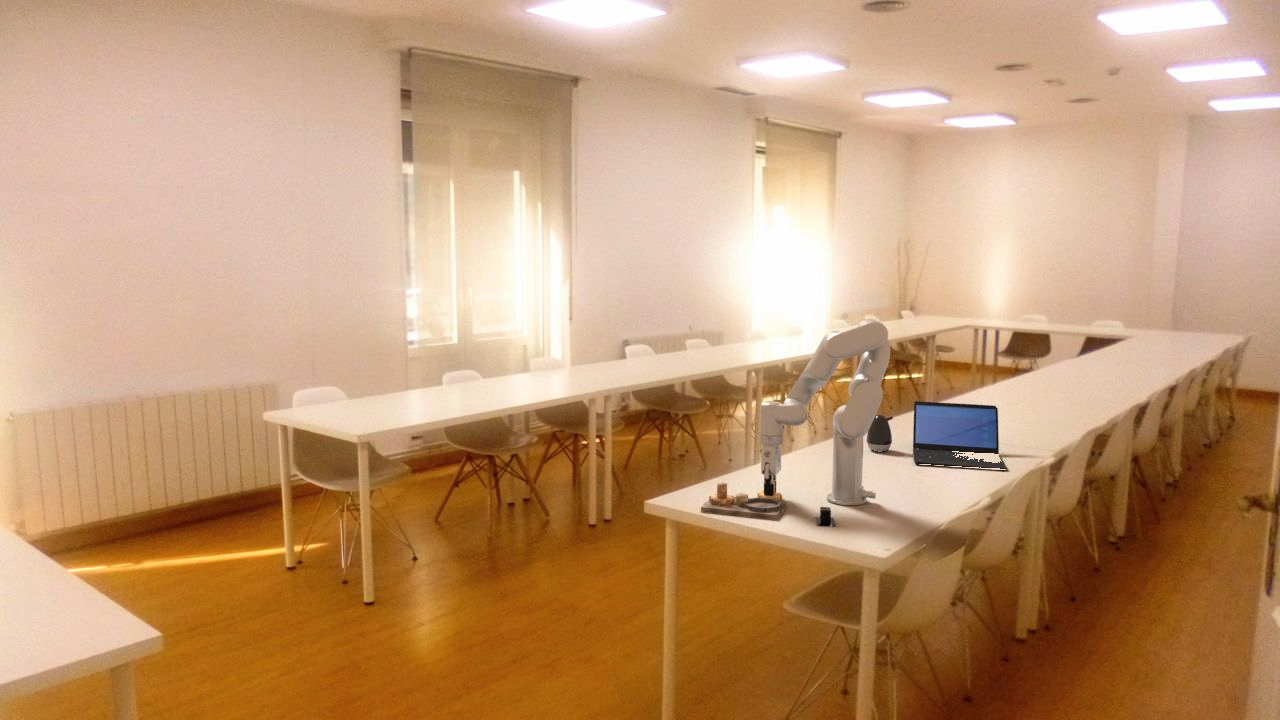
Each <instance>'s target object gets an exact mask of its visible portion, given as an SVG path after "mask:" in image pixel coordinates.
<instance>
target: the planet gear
mask: <svg viewBox="0 0 1280 720" xmlns="http://www.w3.org/2000/svg"><path fill="white" fill-rule="evenodd" d="M773 484H774V495H773V496H766V495H764V490H762V491H761V492H757V497H758V498H760V497H761V498H771V499H775V500H777V501H780V502H781V501H782V500H783V494H782V493H781V492H780V491H779V492H778V491H776V493H775V480H773Z"/></svg>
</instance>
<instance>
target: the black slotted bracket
mask: <svg viewBox="0 0 1280 720" xmlns="http://www.w3.org/2000/svg"><path fill="white" fill-rule="evenodd" d="M814 520H815V524H816V527H825V528H826V527H828V528H829V527H831V528H832V527H833V528H836V526H837V525H836V523H835V520H834V518H833V517H832V510H831V507H829V506H820V508H819V516H814Z"/></svg>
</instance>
